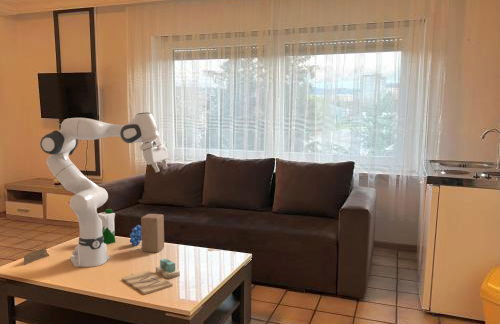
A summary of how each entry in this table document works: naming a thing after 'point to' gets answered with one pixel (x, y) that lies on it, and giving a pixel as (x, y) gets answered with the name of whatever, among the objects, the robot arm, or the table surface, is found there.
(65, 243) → the table surface
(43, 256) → the wood plank
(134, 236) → the grapes
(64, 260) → the table surface
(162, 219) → the wooden block
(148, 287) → the wooden board
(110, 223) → the milk carton
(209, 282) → the table surface
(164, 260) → the block
